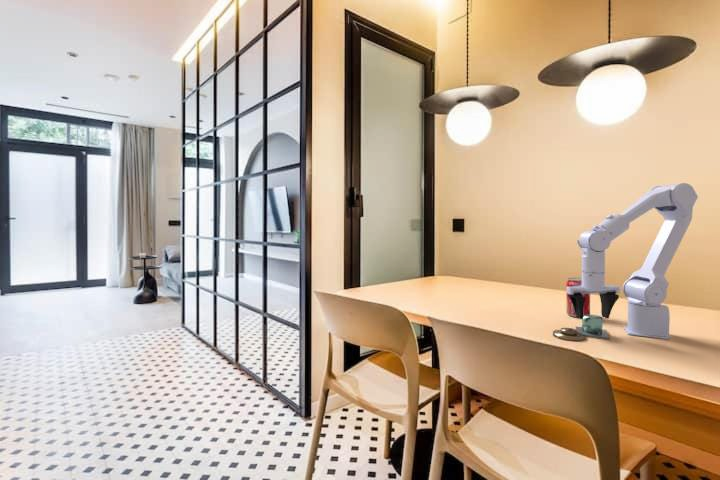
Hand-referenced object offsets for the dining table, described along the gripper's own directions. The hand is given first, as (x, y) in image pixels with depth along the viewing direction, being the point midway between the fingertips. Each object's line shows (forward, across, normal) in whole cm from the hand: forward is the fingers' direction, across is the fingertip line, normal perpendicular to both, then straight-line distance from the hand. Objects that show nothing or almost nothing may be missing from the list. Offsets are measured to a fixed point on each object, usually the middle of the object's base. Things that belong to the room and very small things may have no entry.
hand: (592, 317), depth 108 cm
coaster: (+5, 0, 0) cm, 5 cm away
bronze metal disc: (+5, +8, +2) cm, 10 cm away
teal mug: (+4, 0, 0) cm, 4 cm away
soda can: (+5, -8, -20) cm, 22 cm away
